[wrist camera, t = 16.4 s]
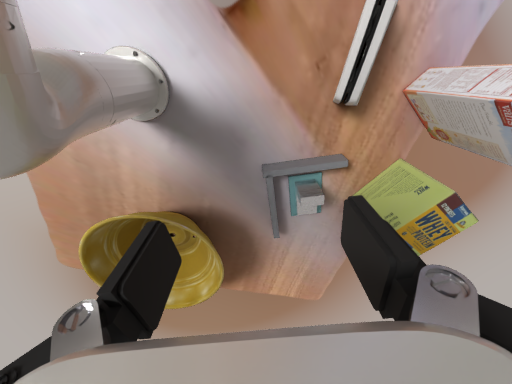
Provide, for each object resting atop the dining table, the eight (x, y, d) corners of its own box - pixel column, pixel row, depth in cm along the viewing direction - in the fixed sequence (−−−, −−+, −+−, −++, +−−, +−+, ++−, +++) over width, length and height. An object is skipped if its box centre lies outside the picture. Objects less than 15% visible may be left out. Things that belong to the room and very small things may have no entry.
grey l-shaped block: (294, 181, 50) (300, 197, 43) (315, 178, 49) (324, 195, 43) (296, 210, 54) (301, 229, 48) (314, 208, 54) (323, 227, 48)
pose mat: (291, 215, 56) (291, 215, 55) (288, 176, 49) (288, 177, 49) (320, 211, 55) (320, 212, 55) (321, 171, 49) (321, 172, 49)
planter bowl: (220, 179, 50) (209, 211, 38) (235, 266, 66) (232, 307, 55) (92, 187, 51) (45, 221, 39) (139, 271, 67) (115, 312, 56)
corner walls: (271, 228, 58) (272, 238, 55) (261, 164, 48) (262, 172, 44) (336, 220, 57) (341, 230, 53) (341, 153, 47) (348, 160, 43)
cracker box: (458, 117, 43) (607, 151, 25) (430, 138, 45) (547, 183, 27) (431, 64, 38) (592, 57, 20) (400, 90, 40) (520, 105, 22)
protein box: (346, 199, 53) (377, 242, 40) (399, 157, 47) (457, 190, 34) (369, 219, 57) (405, 265, 43) (422, 182, 51) (482, 221, 37)
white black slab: (355, 107, 41) (361, 112, 33) (332, 102, 42) (331, 106, 34) (397, -2, 33) (419, -32, 25) (367, -5, 34) (378, -34, 26)
